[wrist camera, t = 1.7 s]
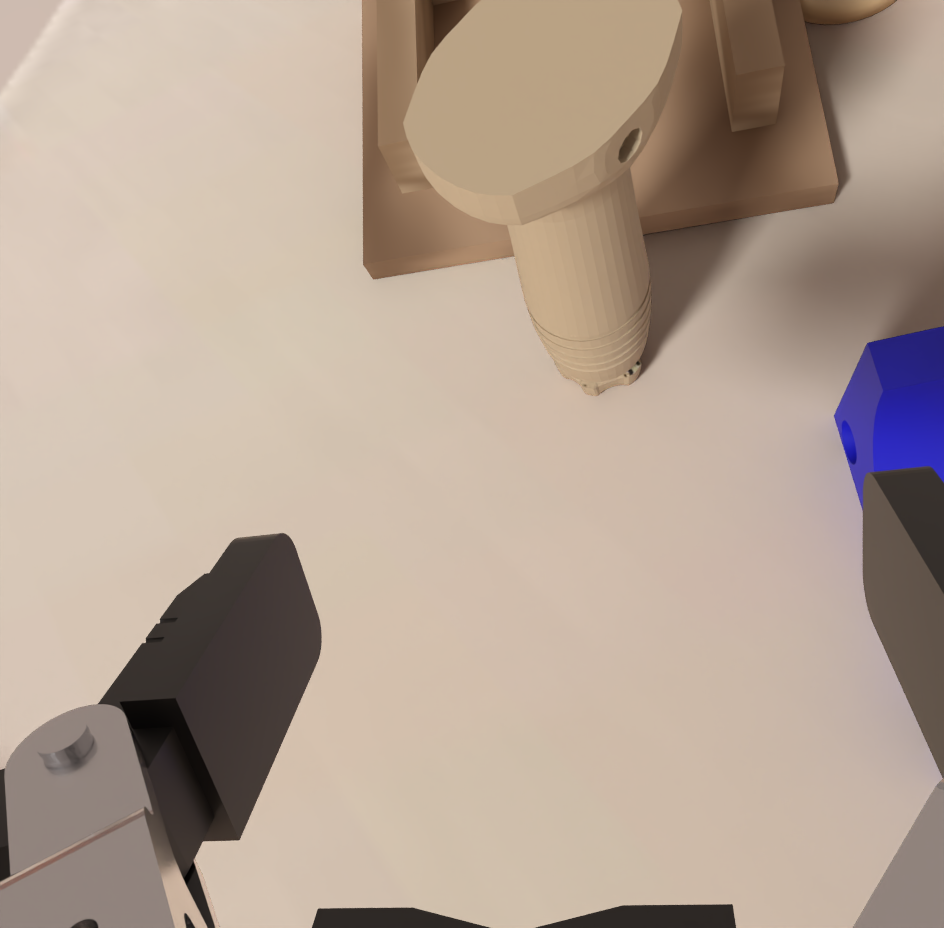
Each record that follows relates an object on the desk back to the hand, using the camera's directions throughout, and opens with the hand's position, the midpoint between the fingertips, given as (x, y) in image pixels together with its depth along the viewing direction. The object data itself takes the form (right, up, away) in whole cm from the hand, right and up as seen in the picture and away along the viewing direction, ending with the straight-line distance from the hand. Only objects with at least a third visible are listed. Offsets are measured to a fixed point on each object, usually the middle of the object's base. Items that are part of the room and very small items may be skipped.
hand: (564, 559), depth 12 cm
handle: (+4, +5, +20) cm, 21 cm away
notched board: (+3, +17, +24) cm, 29 cm away
